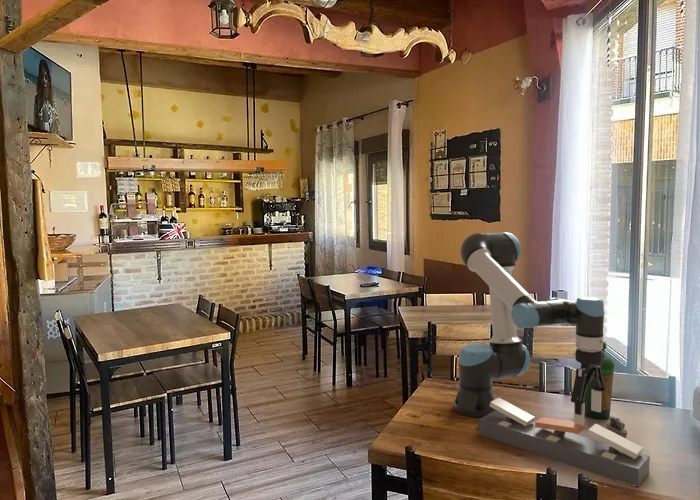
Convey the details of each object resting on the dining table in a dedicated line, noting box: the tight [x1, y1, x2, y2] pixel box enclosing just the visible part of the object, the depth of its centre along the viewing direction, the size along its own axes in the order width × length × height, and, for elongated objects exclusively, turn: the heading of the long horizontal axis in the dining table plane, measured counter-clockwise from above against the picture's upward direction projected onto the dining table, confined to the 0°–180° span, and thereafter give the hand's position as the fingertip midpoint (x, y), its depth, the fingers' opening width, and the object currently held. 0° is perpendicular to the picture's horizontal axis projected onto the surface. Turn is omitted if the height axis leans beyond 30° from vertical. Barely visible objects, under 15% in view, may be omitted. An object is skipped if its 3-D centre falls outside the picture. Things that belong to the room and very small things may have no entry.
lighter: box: [605, 416, 628, 439], centre depth 155 cm, size 8×3×10 cm, turn 5°
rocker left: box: [490, 397, 536, 426], centre depth 166 cm, size 13×5×2 cm, turn 45°
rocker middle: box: [535, 416, 586, 435], centre depth 155 cm, size 13×5×2 cm, turn 45°
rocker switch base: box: [477, 411, 651, 488], centre depth 155 cm, size 50×10×7 cm, turn 45°
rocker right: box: [586, 423, 644, 459], centre depth 144 cm, size 13×5×2 cm, turn 45°
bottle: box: [583, 341, 615, 420], centre depth 181 cm, size 11×11×28 cm
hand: (587, 417), depth 156 cm, fingers open, 13 cm apart
